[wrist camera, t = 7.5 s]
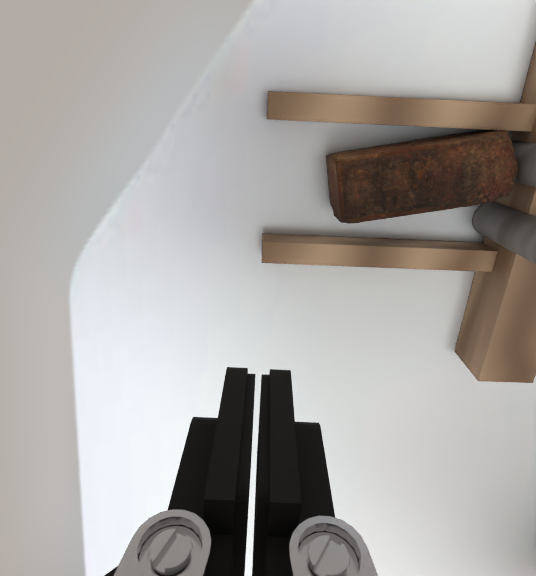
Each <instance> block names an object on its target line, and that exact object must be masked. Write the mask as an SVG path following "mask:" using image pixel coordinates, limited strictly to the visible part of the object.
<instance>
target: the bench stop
mask: <svg viewBox="0 0 536 576" xmlns="http://www.w3.org/2000/svg"><path fill="white" fill-rule="evenodd" d="M267 119H274V120H295V121H317V122H338V123H359V124H381V125H402V126H423V127H445V128H466V129H487V130H509V131H512V135H511V141H512V145H513V148H514V152H515V156H516V159H517V164H518V174H517V176H516V179H514V182H513V186H514V187H513V190H512V191H511V193H510V194H509V196H506V197H502V198H498V199H497V200H496V201H493V202H490V203H486V204H483V205H481V206H480V207H479V208H478V209H477V210H476V211H475V213H474V215H473V219H472V224H473V227H474V229H475V230H476V231H477V232H478V233H480V234H482V235H483V236H485V237H484V241H483V243H479V242H455V241H430V240H406V239H381V238H357V237H332V236H308V235H283V234H263V241H262V263H280V264H305V265H331V266H356V267H382V268H407V269H432V270H458V271H476V272H475V275H474V279H473V283H472V287H471V291H470V294H469V298H468V302H467V306H466V310H465V313H464V317H463V321H462V325H461V328H460V332H459V336H458V340H457V344H456V347H455V352H456V354H457V355H458V356H459V357H460V359H461V360H462V361H463V362H464V364H465V365H466V366H467V368H468V369H469V370H470V371H471V373H472V374H473V375H474V376H475V378H476V379H477V380H478V381H494V382H524V383H533V380H534V378H535V375H536V44H535V48H534V52H533V55H532V59H531V63H530V67H529V71H528V74H527V78H526V82H525V86H524V89H523V93H522V97H521V101H520V103H500V102H479V101H459V100H438V99H417V98H396V97H376V96H355V95H334V94H314V93H293V92H272V91H268V113H267Z"/></svg>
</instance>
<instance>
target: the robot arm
mask: <svg viewBox="0 0 536 576" xmlns="http://www.w3.org/2000/svg"><path fill="white" fill-rule="evenodd" d="M247 373H248V368H232V367H227V370H226V375H225V381H224V387H223V392H222V398H221V404H220V409H219V415H218V418H203V417H193V418H192V421H191V424H190V428H189V432H188V435H187V439H186V443H185V447H184V451H183V454H182V458H181V462H180V466H179V470H178V473H177V477H176V481H175V485H174V488H173V492H172V496H171V500H170V504H169V507H168V511H164V512H160V513H158V514H156V515H154V516H153V517H151V518H149V519H148V520H147V521H146V522H145V523H143V524H142V525H141V526H140V527H139V528H138V530H137V531H136V533H135V534H134V536H133V537H132V539H131V541H130V543H129V545H128V547H127V549H126V551H125V554H124V556H123V558H122V560H121V562H120V564H119V566H117V567H116V568H115V569H113V570H112V571H110V572H109V573H108V574H106V575H105V576H244V572H245V555H246V538H247V521H248V504H249V487H250V469H251V451H252V431H253V410H254V390H255V374H247ZM252 576H378V575H377V572H376V569H375V567H374V564H373V561H372V559H371V556H370V553H369V551H368V548H367V546H366V544H365V542H364V541H363V539H362V537H361V536H360V535H359V533H358V532H357V531H356V530H355V529H354V528H353V527H352V526H350V525H349V524H347V523H346V522H344V521H342V520H340V519H337V518H335V514H334V508H333V502H332V496H331V489H330V483H329V477H328V471H327V465H326V458H325V452H324V446H323V440H322V434H321V428H320V424H319V423H309V422H295V420H294V407H293V394H292V381H291V371H290V370H273V369H270V375H262V380H261V397H260V415H259V433H258V450H257V472H256V496H255V520H254V545H253V569H252Z"/></svg>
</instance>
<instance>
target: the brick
mask: <svg viewBox="0 0 536 576" xmlns="http://www.w3.org/2000/svg"><path fill="white" fill-rule="evenodd" d="M326 160H327V173H328V185H329V195H330V203H331V206H332V209H333V212H334V216H335V217H336V218H337V219H338V220H339V221H340V222H342V223H359V222H364V221H371V220H378V219H386V218H392V217H399V216H405V215H412V214H419V213H425V212H432V211H440V210H446V209H453V208H459V207H467V206H472V205H479V204H486V203H490V202H493V201H496V200H497V199H498V198H502V197H506V196H509V194H510V193H511V191H512V190H513V187H514V186H513V182H514V179H516V176H517V174H518V164H517V159H516V156H515V152H514V148H513V145H512V141H511V138H510V136H509V132H508V131H505V130H499V131H498V130H483V131H475V132H467V133H461V134H454V135H447V136H441V137H434V138H427V139H420V140H414V141H408V142H402V143H395V144H390V145H382V146H376V147H370V148H364V149H358V150H350V151H344V152H338V153H333V154H329V155H326Z"/></svg>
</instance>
